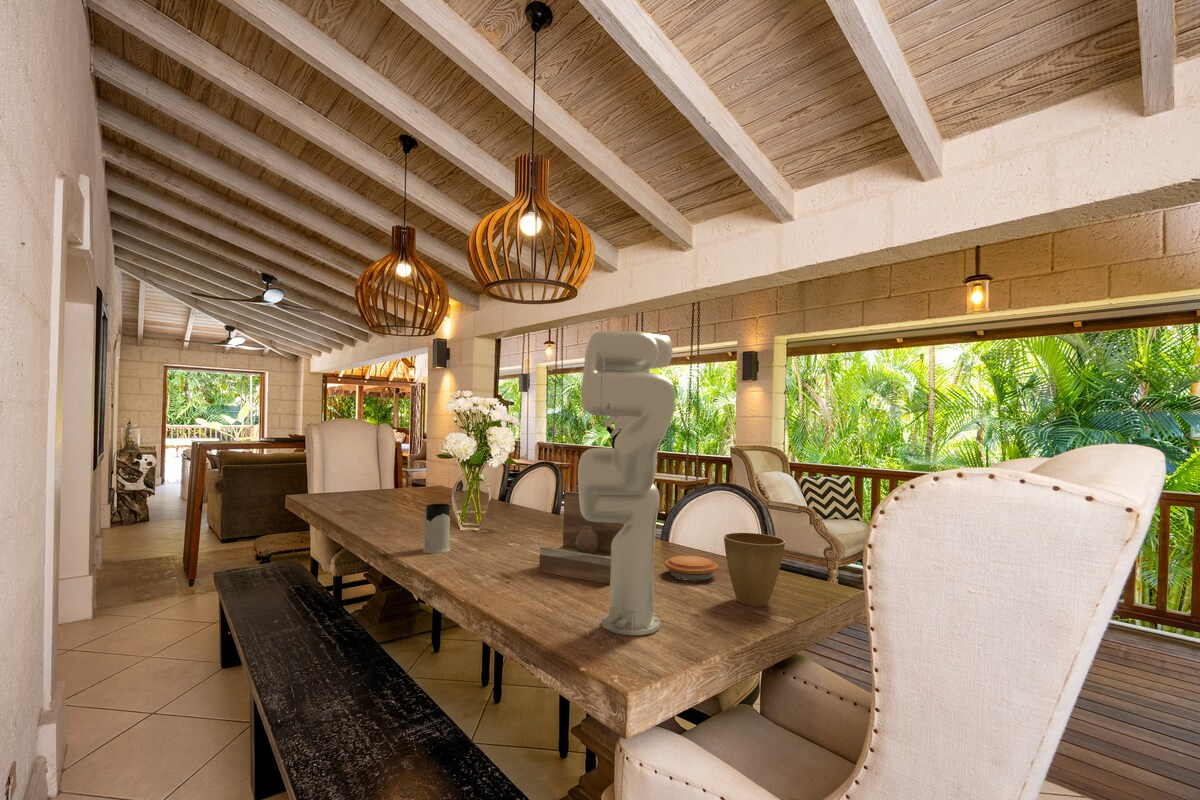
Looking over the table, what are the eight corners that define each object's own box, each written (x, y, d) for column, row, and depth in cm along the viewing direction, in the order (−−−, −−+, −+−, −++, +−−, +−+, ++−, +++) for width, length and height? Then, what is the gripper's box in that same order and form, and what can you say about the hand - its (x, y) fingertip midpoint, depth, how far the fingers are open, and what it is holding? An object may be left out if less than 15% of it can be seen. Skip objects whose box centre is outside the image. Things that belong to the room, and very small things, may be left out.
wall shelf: (611, 584, 152) (613, 503, 153) (539, 571, 164) (541, 496, 165) (634, 573, 165) (636, 497, 166) (565, 561, 177) (567, 491, 178)
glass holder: (429, 554, 181) (431, 508, 182) (412, 546, 192) (413, 502, 192) (454, 551, 187) (456, 506, 188) (436, 543, 198) (437, 500, 198)
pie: (673, 566, 174) (674, 550, 174) (723, 573, 167) (723, 556, 167) (656, 578, 160) (657, 561, 160) (710, 586, 153) (710, 568, 153)
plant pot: (756, 615, 130) (757, 546, 131) (710, 598, 143) (711, 535, 143) (797, 605, 138) (797, 540, 139) (750, 590, 151) (751, 530, 151)
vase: (593, 552, 169) (594, 522, 169) (602, 557, 162) (603, 527, 163) (572, 553, 166) (572, 523, 166) (580, 559, 160) (580, 528, 160)
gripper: (670, 388, 146) (669, 454, 145) (612, 388, 154) (610, 451, 153) (659, 386, 139) (658, 455, 138) (598, 386, 147) (597, 452, 147)
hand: (633, 453), depth 146 cm, fingers open, 9 cm apart
